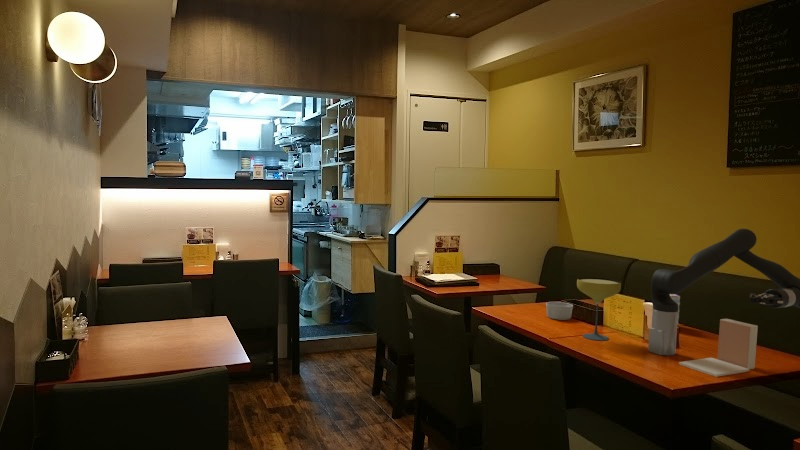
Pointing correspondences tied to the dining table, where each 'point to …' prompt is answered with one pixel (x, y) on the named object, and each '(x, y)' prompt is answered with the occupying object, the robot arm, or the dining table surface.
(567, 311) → the ramekin
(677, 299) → the candy box
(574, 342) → the dining table surface
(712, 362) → the cutting board
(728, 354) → the tile
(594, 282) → the cocktail glass
